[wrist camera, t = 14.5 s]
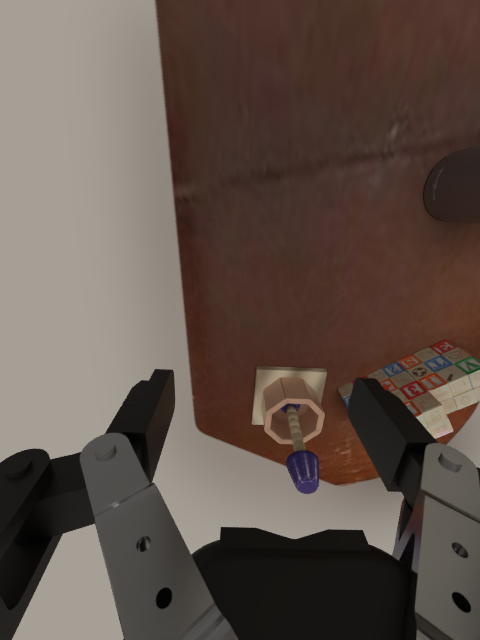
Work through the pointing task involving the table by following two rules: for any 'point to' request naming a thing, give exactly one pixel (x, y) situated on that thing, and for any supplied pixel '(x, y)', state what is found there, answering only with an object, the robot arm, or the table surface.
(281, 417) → the beige octagonal hollow piece
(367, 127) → the table surface
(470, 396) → the stack of blocks
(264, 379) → the birch board
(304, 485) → the toy lamp
